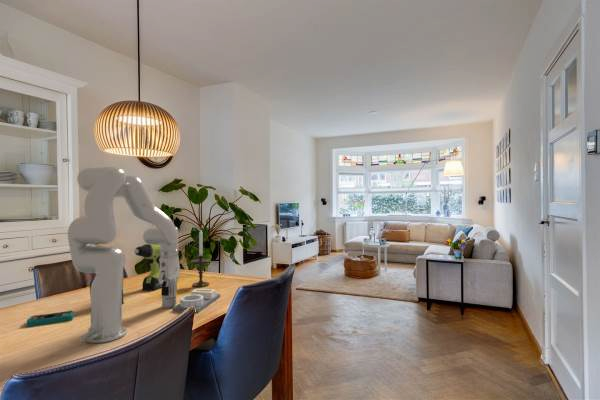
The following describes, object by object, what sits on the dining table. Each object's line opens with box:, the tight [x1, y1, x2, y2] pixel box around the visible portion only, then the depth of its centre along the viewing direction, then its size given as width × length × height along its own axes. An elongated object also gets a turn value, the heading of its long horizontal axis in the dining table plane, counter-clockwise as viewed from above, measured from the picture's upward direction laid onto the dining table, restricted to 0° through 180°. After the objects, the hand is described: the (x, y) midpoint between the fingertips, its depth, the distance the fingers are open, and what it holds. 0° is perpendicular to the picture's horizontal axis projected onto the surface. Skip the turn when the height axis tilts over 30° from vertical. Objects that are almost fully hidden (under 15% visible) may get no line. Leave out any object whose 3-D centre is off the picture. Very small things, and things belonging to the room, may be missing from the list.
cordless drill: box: [133, 243, 161, 292], centre depth 177 cm, size 23×7×25 cm, turn 167°
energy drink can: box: [161, 277, 177, 309], centre depth 150 cm, size 6×6×15 cm
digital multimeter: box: [26, 310, 75, 328], centre depth 131 cm, size 7×15×3 cm, turn 119°
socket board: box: [171, 288, 221, 314], centre depth 154 cm, size 24×12×4 cm, turn 171°
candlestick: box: [190, 224, 212, 288], centre depth 188 cm, size 11×11×35 cm
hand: (169, 293), depth 150 cm, fingers closed on energy drink can, 6 cm apart
